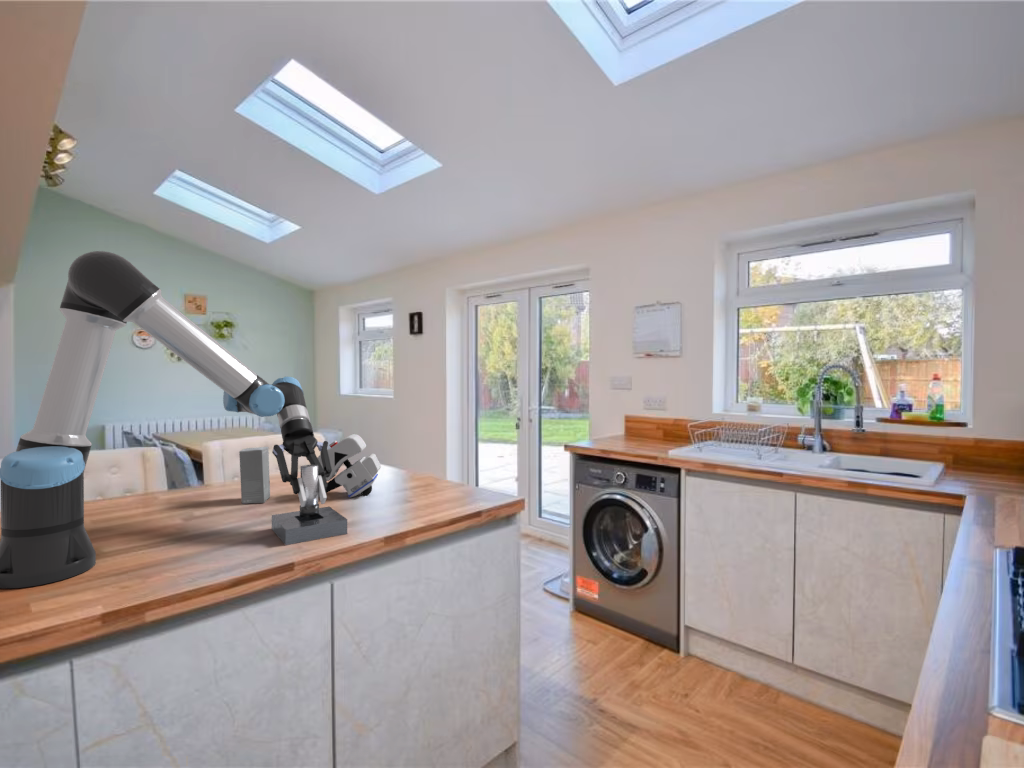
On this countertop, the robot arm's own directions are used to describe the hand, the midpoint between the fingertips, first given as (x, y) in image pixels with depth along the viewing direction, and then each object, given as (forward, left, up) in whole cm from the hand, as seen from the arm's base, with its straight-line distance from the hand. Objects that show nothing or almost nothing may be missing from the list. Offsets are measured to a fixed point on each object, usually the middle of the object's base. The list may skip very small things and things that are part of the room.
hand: (314, 502), depth 120 cm
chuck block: (0, +4, -8) cm, 9 cm away
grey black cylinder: (0, +4, -4) cm, 6 cm away
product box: (-5, +43, -8) cm, 44 cm away
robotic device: (+20, +34, -8) cm, 40 cm away
